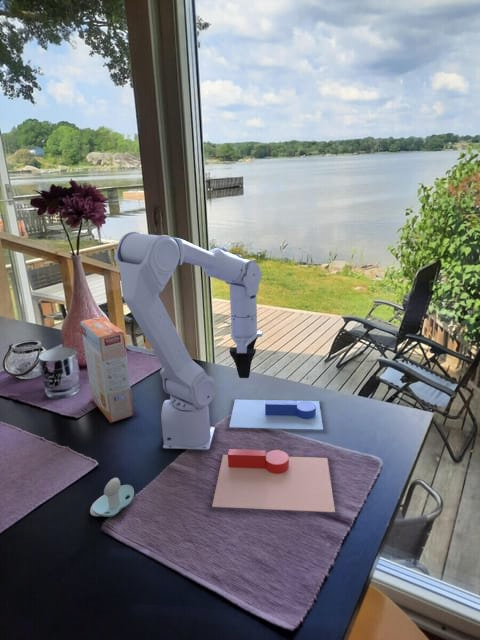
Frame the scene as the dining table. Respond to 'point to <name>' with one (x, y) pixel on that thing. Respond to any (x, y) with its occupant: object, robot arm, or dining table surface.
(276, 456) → the red spoon
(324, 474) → the rose mat
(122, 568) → the dining table surface
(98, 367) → the cracker box
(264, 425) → the blue mat
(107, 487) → the pacifier
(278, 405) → the blue spoon
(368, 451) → the dining table surface
